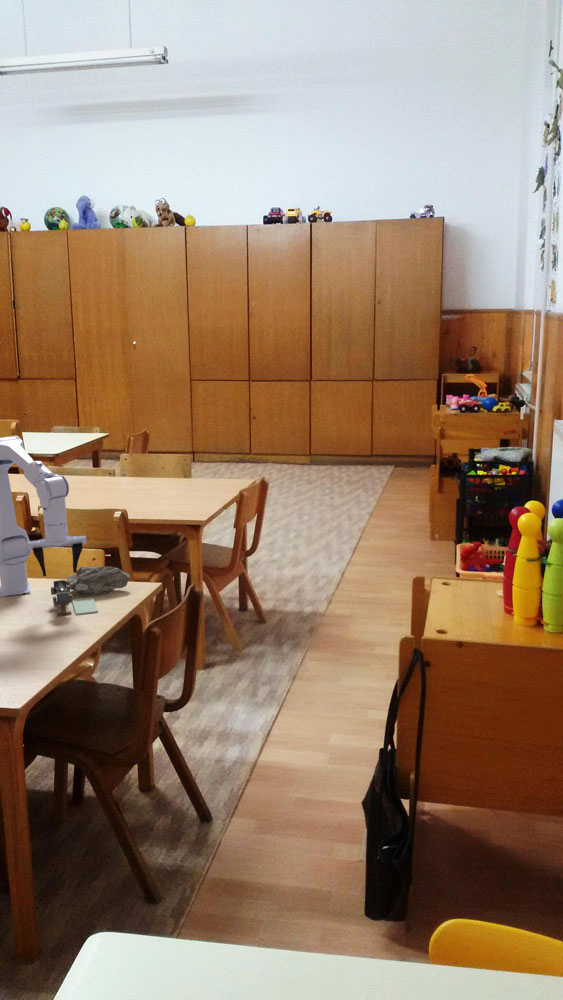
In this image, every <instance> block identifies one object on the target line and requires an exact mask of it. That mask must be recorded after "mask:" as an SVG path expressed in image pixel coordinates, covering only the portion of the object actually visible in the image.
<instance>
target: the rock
mask: <svg viewBox="0 0 563 1000" xmlns="http://www.w3.org/2000/svg"><path fill="white" fill-rule="evenodd" d="M130 578H131V575H130V574H129V573H128V572H126V571H123V570H122V569H121V568H118V567H116V566H115V567H114V566H96V565H93V566H90V565H88V566H87V565H86V566H80V567H79V569H77V573H75V574H70V575H68V576H67V578H66V579H64V580H65V585H69V587H70V591H71V590H72V591H73V592H77V593H78V594H81V595H84V594H83V593H86V594H87V595H94V594H101V595H102V594H106V593H107V594H108V593H110V592H112V591H113V590H116V589H122V588H125V587H127V585H128V583H129V580H130ZM86 594H85V595H86Z"/></svg>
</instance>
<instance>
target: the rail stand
mask: <svg viewBox="0 0 563 1000" xmlns="http://www.w3.org/2000/svg"><path fill="white" fill-rule="evenodd" d="M66 592H69V602H70V603H72V602H73V600H74V599H73V594H71V589H70V587H69V585H66ZM56 593H57V592H54V586H51V587H50V594H51V596H52V604H53V605H54V606H55V605H57V595H56ZM54 595H55V596H54ZM58 607H59V609H60V611H57V612H56V617H61V616H68V615H69V614H70V615H72V610H67V605H66V604H63V605H59V606H58Z"/></svg>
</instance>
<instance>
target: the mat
mask: <svg viewBox="0 0 563 1000" xmlns="http://www.w3.org/2000/svg"><path fill="white" fill-rule="evenodd" d="M95 601H96V600H95V599H94V597H93V596H90V597H85V598H83V597H82V598H76V599H75V598H74V599H73V603H72V606H73V609H74V612H75V615H76V616H80V615H88V614H94V613H95V614H96V613H98V612H99V609H98V607H97V604H96V602H95Z"/></svg>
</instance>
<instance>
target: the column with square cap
mask: <svg viewBox="0 0 563 1000" xmlns="http://www.w3.org/2000/svg"><path fill="white" fill-rule="evenodd" d="M65 580H66V579H59V580H52V581H53V587H54V592H57V593H56V595H55V596H56V600H57V605H63V604H68V605H70V603H71V602H69V594H70V593H69V592H66V585H65Z"/></svg>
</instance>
